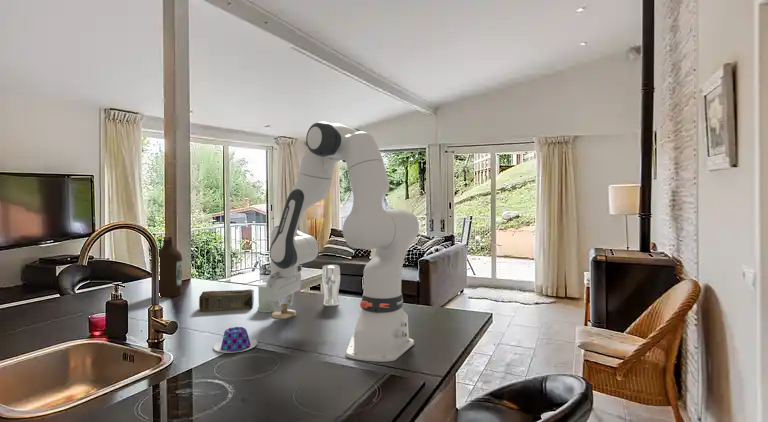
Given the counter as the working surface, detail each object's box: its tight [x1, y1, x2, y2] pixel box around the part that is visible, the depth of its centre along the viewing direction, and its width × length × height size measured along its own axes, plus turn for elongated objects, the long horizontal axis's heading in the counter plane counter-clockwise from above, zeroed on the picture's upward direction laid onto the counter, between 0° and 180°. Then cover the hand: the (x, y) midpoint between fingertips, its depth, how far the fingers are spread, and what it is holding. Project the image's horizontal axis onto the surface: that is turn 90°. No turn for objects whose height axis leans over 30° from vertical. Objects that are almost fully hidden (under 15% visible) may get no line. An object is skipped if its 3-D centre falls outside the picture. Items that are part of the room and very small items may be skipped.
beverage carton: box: [198, 289, 255, 313], centre depth 168 cm, size 8×19×7 cm, turn 103°
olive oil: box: [158, 235, 183, 298], centre depth 188 cm, size 11×11×25 cm
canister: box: [257, 283, 275, 313], centre depth 165 cm, size 8×8×9 cm
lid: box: [271, 303, 297, 320], centre depth 158 cm, size 8×8×4 cm
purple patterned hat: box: [212, 326, 258, 354], centre depth 127 cm, size 12×12×5 cm
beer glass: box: [321, 264, 341, 307], centre depth 173 cm, size 7×7×15 cm
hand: (284, 308), depth 159 cm, fingers open, 7 cm apart
